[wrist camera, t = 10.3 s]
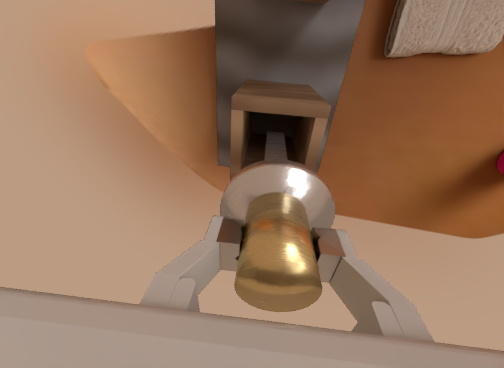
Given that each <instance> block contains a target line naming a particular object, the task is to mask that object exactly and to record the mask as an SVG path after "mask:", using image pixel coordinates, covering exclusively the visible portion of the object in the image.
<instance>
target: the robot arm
mask: <svg viewBox="0 0 504 368" xmlns="http://www.w3.org/2000/svg"><path fill="white" fill-rule="evenodd" d="M243 229H244V219H240V218H232V217H225V216H224V217H223V216H216V215H214V216H213V217H212V219H211V222H210V224H209V227H208V230H207V233H206V235H205V238H204V241H202V240H200V241H199V242H197V243H196V244H195V245H193V246H192V247H191V248H189V249H188V250H187V251H185V252H184V253H183V254H181V255H180V256H178V257H177V258H176V259H174V260H173V261H172V262H170V263H169V264H168V265H166V266H165V267H164V268H162V269H161V270H159V271H158V272H157V273H156V274H155V276H154V278H153V280H152V282H151V283H150V285H149V287H148V289H147V291H146V293H145V295H144V297H143V299H142V300H141V302H140V304H139V305H138V304H129V303H122V302H113V301H106V300H99V299H91V298H83V297H75V296H67V295H59V294H51V293H44V292H36V291H28V290H21V289H12V288H5V287H0V368H504V351H500V350H492V349H484V348H476V347H468V346H461V345H452V344H445V343H436V342H434V340H433V338H432V336H431V334H430V333H429V331H428V329H427V327H426V325H425V323H424V322H423V320H422V318H421V316H420V315H419V313H418V311H417V309H416V307H415V306H414V304H412V303H411V302H410V301H409V300H408V299H407V298H406V297H405V296H403V295H402V294H401V293H400V292H399V291H398V290H396V289H395V288H394V287H393V286H392V285H391V284H390V283H389V282H387V281H386V280H385V279H384V278H383V277H382V276H381V275H379V274H378V273H377V272H376V271H375V270H374V269H373V268H371V267H370V266H369V265H368V264H367V263H366V262H364V261H363V260H362V259H358V256H357V254H356V252H355V249H354V247H353V244H352V242H351V240H350V237H349V235H348V232H347V231H346V230H340V229H330V228H320V227H313V228H312V229H311V236H312V241H313V246H314V250H315V255H316V260H317V265H318V270H319V274H320V279H321V282H327V283H330V285H331V287H332V288H333V289H334V291H335V292H336V293H337V295H338V296H339V297H340V299H341V300H342V301H343V303H344V304H345V305H346V307H347V308H348V309H349V311H350V312H351V314H352V315H353V316H354V317H355V319H356V320H357V322H358V323H357V324H356V326H355V327H354V328H353V330H352V331H351V332H350V331H343V330H335V329H327V328H318V327H311V326H303V325H295V324H288V323H279V322H272V321H264V320H255V319H248V318H239V317H232V316H224V315H216V314H208V313H201V312H200V311H199V303H198V295H199V293H200V292H201V291H202V290H203V289H204V288H205V287H206V285H208V283H209V282H210V281H211V280H212V279H213V278H214V277H215V276H216V275H217V273H218V272H219V271H220V270H228V271H237V265H238V259H239V254H240V248H241V241H242V235H243Z"/></svg>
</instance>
